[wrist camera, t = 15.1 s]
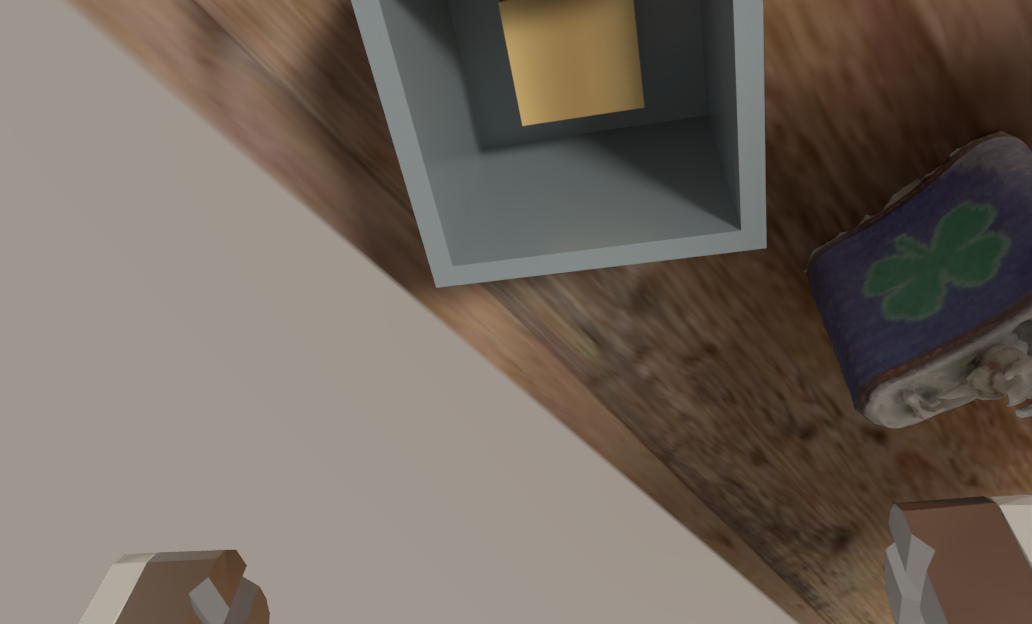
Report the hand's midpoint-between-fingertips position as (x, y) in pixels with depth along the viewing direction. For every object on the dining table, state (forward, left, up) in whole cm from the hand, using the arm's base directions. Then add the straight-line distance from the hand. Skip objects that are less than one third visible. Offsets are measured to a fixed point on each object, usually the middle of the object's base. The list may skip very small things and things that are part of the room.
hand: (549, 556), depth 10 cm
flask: (-12, +10, -23) cm, 28 cm away
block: (0, 0, -23) cm, 23 cm away
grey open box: (0, 0, -23) cm, 23 cm away
